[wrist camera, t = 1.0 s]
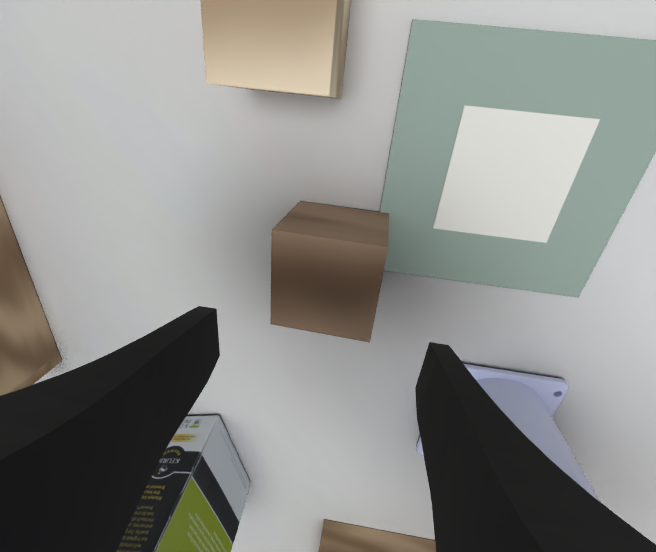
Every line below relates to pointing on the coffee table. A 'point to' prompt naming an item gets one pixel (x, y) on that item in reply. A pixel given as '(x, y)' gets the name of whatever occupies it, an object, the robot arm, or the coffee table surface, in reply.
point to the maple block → (276, 45)
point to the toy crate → (21, 320)
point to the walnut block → (328, 269)
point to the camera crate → (369, 540)
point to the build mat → (515, 153)
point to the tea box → (191, 494)
